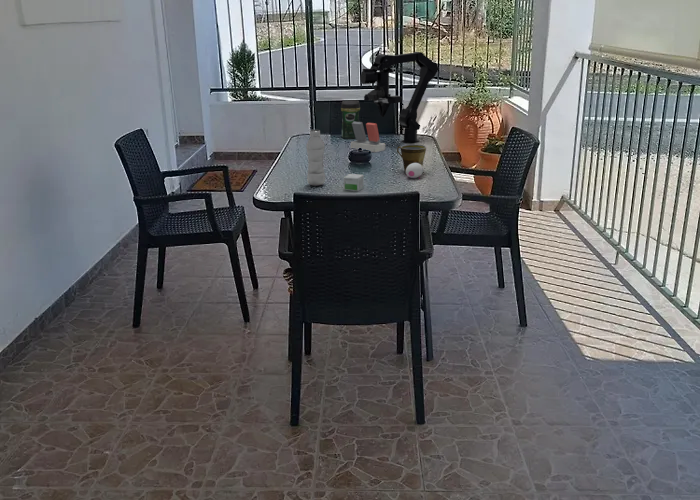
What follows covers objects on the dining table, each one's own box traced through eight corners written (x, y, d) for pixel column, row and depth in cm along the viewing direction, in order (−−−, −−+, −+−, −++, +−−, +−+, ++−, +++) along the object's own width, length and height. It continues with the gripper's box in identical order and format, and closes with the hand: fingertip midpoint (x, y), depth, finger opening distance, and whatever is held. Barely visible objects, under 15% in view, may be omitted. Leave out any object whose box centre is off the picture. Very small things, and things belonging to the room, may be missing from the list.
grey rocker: (358, 139, 302) (354, 121, 297) (366, 140, 299) (362, 122, 294) (356, 141, 301) (351, 123, 296) (364, 142, 298) (359, 124, 293)
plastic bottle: (307, 183, 240) (305, 129, 233) (325, 182, 240) (323, 128, 233) (307, 187, 234) (305, 132, 227) (326, 187, 234) (324, 131, 227)
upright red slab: (371, 141, 297) (368, 122, 292) (380, 142, 294) (376, 123, 289) (369, 143, 296) (365, 124, 291) (377, 144, 293) (374, 125, 288)
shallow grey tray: (360, 146, 305) (360, 139, 304) (385, 150, 296) (385, 143, 295) (350, 148, 301) (350, 141, 300) (375, 152, 291) (375, 145, 290)
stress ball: (415, 183, 251) (408, 168, 251) (430, 174, 245) (422, 158, 246) (403, 186, 245) (396, 171, 246) (418, 177, 240) (410, 161, 240)
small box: (343, 190, 230) (343, 176, 228) (349, 186, 235) (349, 173, 233) (358, 191, 228) (358, 178, 226) (364, 187, 233) (364, 174, 231)
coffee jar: (361, 136, 330) (360, 99, 323) (360, 139, 322) (359, 101, 316) (342, 136, 331) (341, 99, 324) (340, 139, 323) (340, 101, 317)
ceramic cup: (430, 171, 255) (431, 146, 251) (415, 176, 248) (415, 150, 245) (404, 166, 263) (405, 142, 260) (389, 171, 256) (389, 146, 253)
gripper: (356, 83, 299) (356, 117, 304) (387, 85, 287) (387, 121, 292) (371, 81, 307) (371, 114, 312) (402, 83, 295) (402, 118, 300)
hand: (382, 117), depth 304 cm, fingers closed
